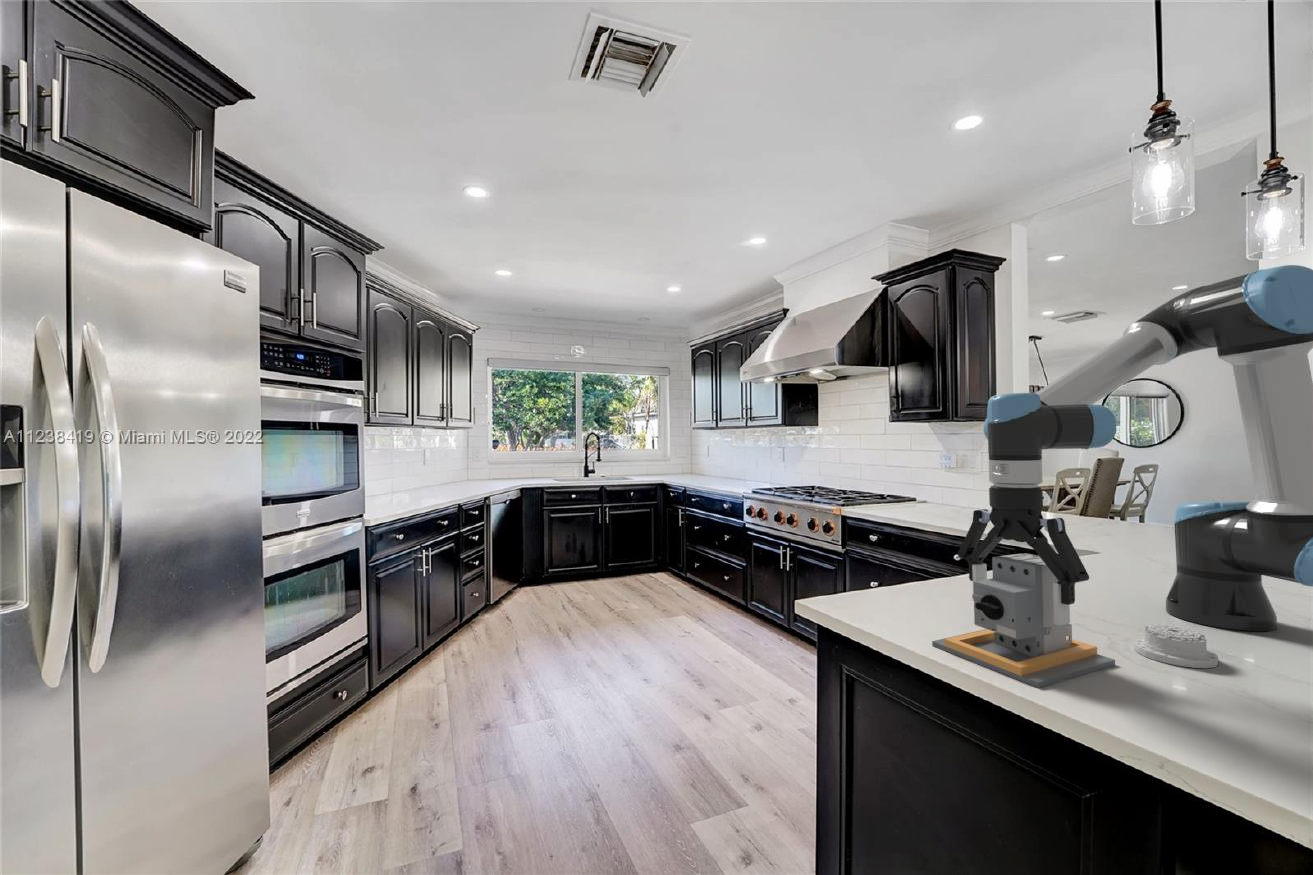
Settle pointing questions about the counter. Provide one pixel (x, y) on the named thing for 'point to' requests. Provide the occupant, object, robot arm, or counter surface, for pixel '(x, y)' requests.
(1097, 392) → the robot arm
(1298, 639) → the counter surface
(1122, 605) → the counter surface
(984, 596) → the circuit breaker
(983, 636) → the base
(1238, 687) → the counter surface
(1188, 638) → the mechanical component
